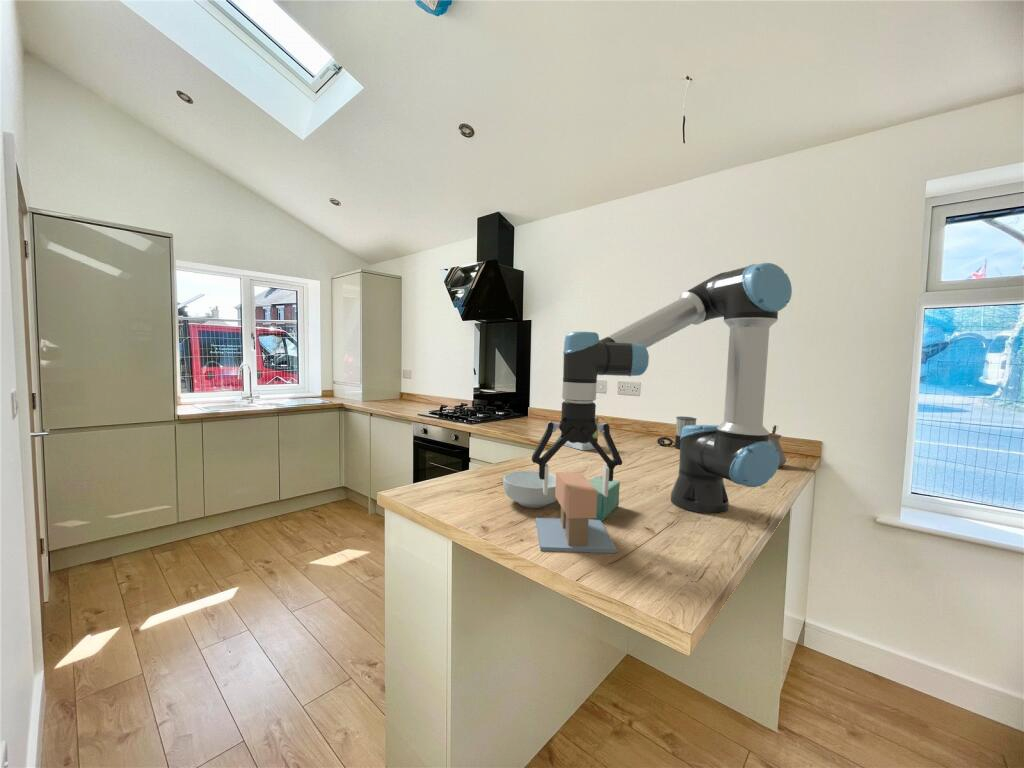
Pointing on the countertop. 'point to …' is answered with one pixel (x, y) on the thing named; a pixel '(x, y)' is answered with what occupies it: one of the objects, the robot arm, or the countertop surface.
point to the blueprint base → (559, 541)
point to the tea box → (587, 444)
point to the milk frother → (678, 431)
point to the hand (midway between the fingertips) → (575, 494)
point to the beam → (576, 495)
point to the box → (606, 503)
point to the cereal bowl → (529, 488)
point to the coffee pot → (777, 445)
